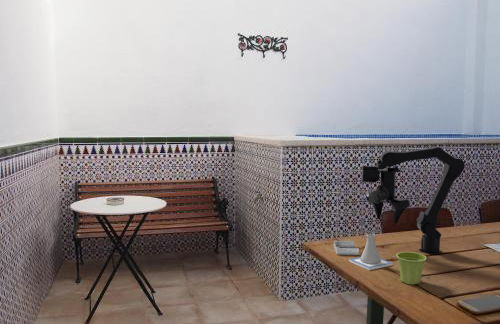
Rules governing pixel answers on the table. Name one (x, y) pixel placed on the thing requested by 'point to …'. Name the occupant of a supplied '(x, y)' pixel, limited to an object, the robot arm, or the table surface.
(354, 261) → the white tile
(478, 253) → the table surface
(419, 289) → the table surface
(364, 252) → the flask
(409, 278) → the plant pot
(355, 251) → the grey u-shaped bracket
